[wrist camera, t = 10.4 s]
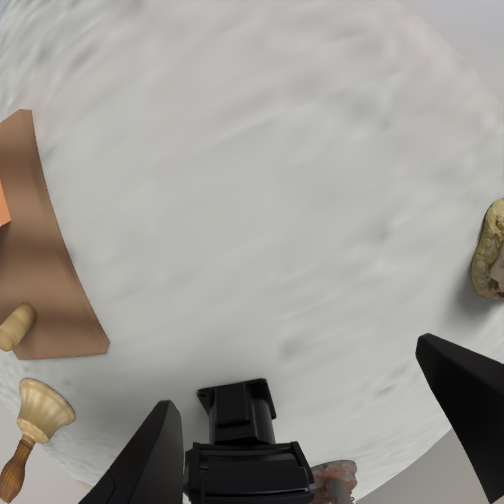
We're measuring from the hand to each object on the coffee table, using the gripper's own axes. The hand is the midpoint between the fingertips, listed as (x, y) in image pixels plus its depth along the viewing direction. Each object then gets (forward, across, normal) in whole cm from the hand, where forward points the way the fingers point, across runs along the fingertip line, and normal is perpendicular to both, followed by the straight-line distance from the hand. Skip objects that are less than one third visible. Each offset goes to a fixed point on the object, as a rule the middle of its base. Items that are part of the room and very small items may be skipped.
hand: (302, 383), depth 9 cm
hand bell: (+12, +29, +13) cm, 34 cm away
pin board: (+12, +20, -5) cm, 24 cm away
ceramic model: (+12, -27, +7) cm, 31 cm away
